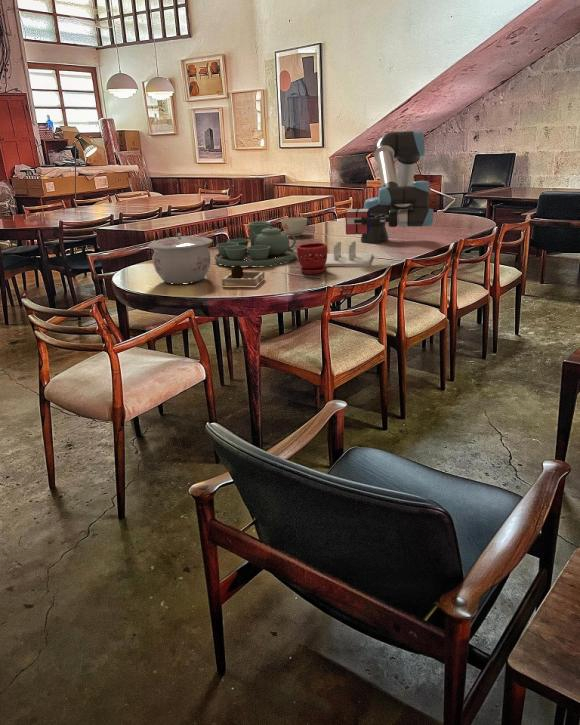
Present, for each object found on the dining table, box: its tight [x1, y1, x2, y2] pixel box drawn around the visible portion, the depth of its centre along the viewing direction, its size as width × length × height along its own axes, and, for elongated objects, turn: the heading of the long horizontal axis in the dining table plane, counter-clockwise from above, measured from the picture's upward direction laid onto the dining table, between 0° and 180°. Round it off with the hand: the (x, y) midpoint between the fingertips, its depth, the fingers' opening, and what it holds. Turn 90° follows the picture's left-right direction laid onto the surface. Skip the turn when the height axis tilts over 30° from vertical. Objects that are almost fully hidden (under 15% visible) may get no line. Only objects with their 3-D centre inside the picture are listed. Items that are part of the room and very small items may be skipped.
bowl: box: [280, 216, 308, 237], centre depth 350 cm, size 16×16×10 cm
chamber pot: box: [146, 232, 213, 285], centre depth 248 cm, size 28×28×21 cm
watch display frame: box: [221, 271, 266, 287], centre depth 241 cm, size 14×14×4 cm
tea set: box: [214, 220, 297, 267], centre depth 285 cm, size 40×40×16 cm
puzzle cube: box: [345, 208, 369, 235], centre depth 265 cm, size 10×10×10 cm
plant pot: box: [296, 242, 328, 275], centre depth 254 cm, size 13×13×12 cm
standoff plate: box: [325, 241, 374, 268], centre depth 273 cm, size 24×24×8 cm
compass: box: [230, 265, 252, 279], centre depth 243 cm, size 8×8×7 cm
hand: (348, 219), depth 265 cm, fingers closed on puzzle cube, 10 cm apart
